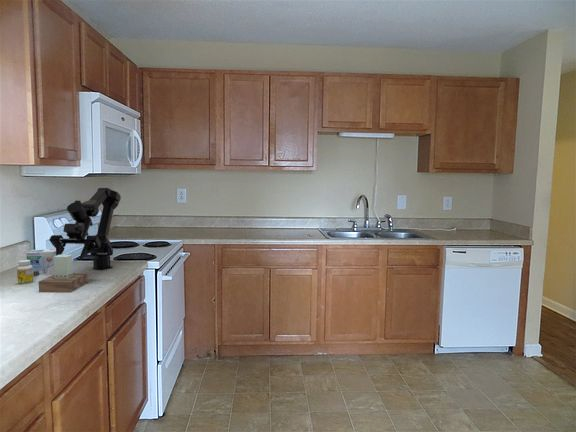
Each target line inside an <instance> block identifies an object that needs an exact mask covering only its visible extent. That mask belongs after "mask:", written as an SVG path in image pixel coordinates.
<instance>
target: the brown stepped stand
mask: <svg viewBox="0 0 576 432" xmlns="http://www.w3.org/2000/svg"><path fill="white" fill-rule="evenodd" d="M88 282H89V281H88V272H85V273H84V272H81V273H79V272H77V273H76V272H73V277H71V278H69V279H55V277H54V274H51V275H49V276H47V277H46V278H43V279H41V280H39V281H38V292H39V293H73V292H74V291H76V290H78V289H80V288H81V287H83V286H84V285H87V284H88Z"/></svg>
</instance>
